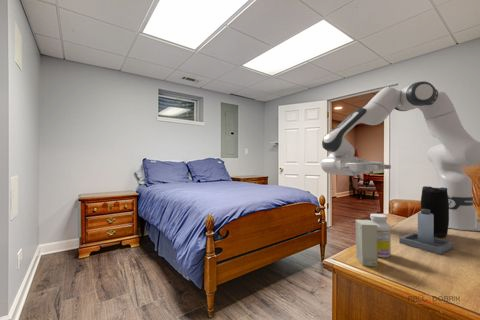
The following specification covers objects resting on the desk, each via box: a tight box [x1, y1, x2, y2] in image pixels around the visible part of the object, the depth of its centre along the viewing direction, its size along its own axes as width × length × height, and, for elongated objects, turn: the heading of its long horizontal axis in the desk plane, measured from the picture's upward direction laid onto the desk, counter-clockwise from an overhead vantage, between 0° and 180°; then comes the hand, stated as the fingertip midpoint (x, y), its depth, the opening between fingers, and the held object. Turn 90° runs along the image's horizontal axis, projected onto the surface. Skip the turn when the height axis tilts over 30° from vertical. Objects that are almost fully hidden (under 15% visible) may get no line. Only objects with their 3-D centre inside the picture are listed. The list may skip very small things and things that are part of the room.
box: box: [398, 232, 454, 256], centre depth 81 cm, size 11×12×2 cm
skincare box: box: [355, 219, 379, 267], centre depth 68 cm, size 6×4×12 cm
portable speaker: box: [420, 186, 449, 239], centre depth 92 cm, size 9×9×20 cm
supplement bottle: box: [369, 213, 392, 258], centre depth 74 cm, size 7×7×13 cm
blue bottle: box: [417, 208, 435, 246], centre depth 81 cm, size 4×4×12 cm
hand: (384, 167), depth 93 cm, fingers open, 8 cm apart
